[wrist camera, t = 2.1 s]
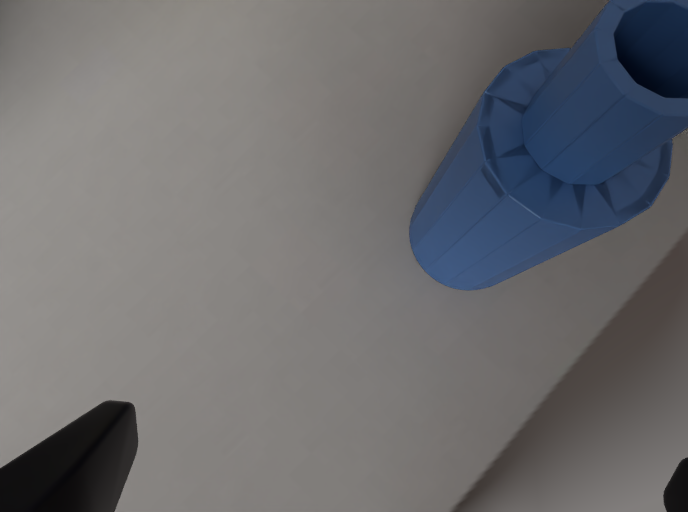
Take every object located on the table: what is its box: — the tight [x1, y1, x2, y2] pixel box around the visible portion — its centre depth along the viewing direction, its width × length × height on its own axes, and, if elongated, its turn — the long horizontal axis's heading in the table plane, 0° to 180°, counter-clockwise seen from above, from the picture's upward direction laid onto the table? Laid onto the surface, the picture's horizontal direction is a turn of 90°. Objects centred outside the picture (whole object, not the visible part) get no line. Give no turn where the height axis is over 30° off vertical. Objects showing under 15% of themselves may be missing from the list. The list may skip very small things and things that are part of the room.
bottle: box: [409, 0, 688, 290], centre depth 16 cm, size 5×5×14 cm
